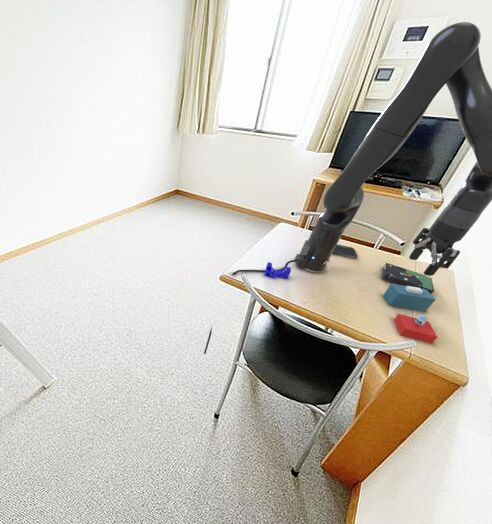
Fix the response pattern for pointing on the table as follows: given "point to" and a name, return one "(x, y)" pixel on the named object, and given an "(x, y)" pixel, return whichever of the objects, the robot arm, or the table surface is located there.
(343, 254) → the phone
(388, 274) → the disk drive
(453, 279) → the table surface
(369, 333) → the table surface
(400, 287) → the tissue box
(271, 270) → the cable holder
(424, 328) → the red rectangular block
